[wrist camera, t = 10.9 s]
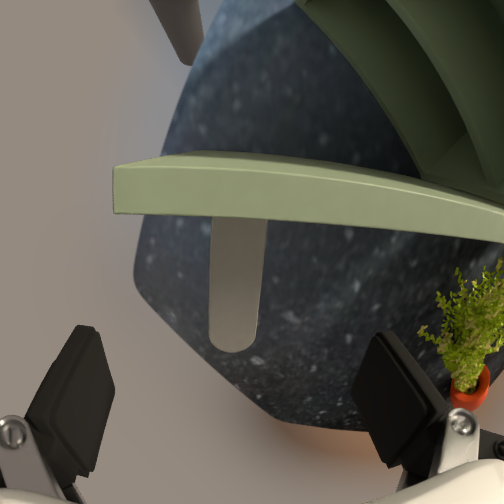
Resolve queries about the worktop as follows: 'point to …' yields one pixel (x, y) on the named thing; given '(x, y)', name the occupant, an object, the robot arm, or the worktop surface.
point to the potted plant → (471, 338)
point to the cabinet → (431, 79)
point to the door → (285, 214)
